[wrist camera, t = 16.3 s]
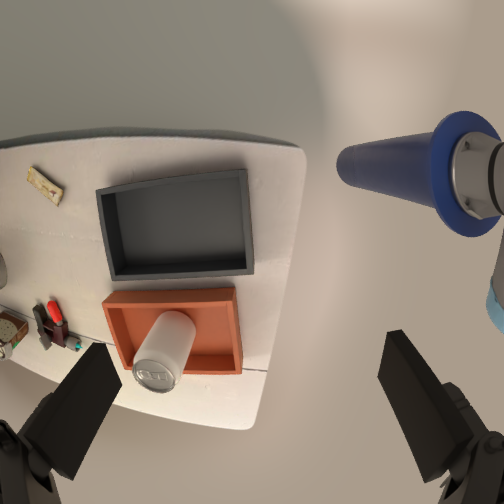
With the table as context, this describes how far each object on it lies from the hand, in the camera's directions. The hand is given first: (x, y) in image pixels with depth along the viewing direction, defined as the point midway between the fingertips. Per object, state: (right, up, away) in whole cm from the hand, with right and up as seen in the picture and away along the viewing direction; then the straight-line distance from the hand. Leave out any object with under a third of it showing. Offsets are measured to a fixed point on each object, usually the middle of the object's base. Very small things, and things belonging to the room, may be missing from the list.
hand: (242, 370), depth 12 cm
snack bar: (-33, +16, +24) cm, 44 cm away
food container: (-53, -12, +33) cm, 64 cm away
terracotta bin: (-11, -6, +30) cm, 33 cm away
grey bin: (-9, +9, +25) cm, 29 cm away
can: (-11, -6, +30) cm, 33 cm away
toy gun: (-36, -8, +31) cm, 49 cm away
